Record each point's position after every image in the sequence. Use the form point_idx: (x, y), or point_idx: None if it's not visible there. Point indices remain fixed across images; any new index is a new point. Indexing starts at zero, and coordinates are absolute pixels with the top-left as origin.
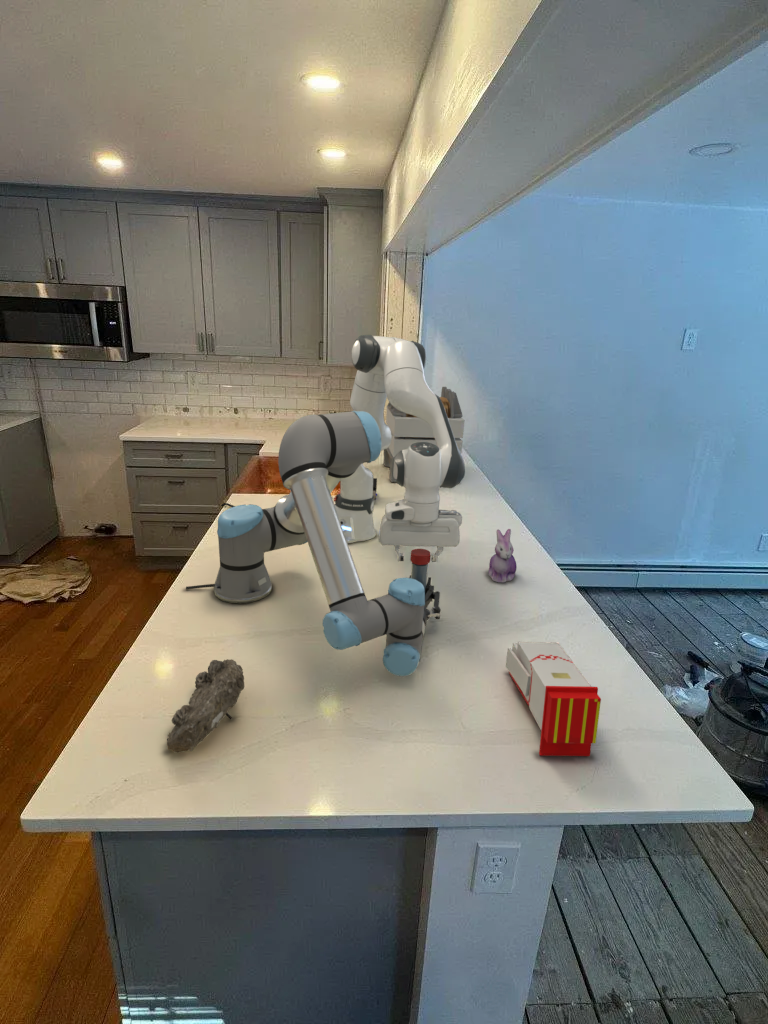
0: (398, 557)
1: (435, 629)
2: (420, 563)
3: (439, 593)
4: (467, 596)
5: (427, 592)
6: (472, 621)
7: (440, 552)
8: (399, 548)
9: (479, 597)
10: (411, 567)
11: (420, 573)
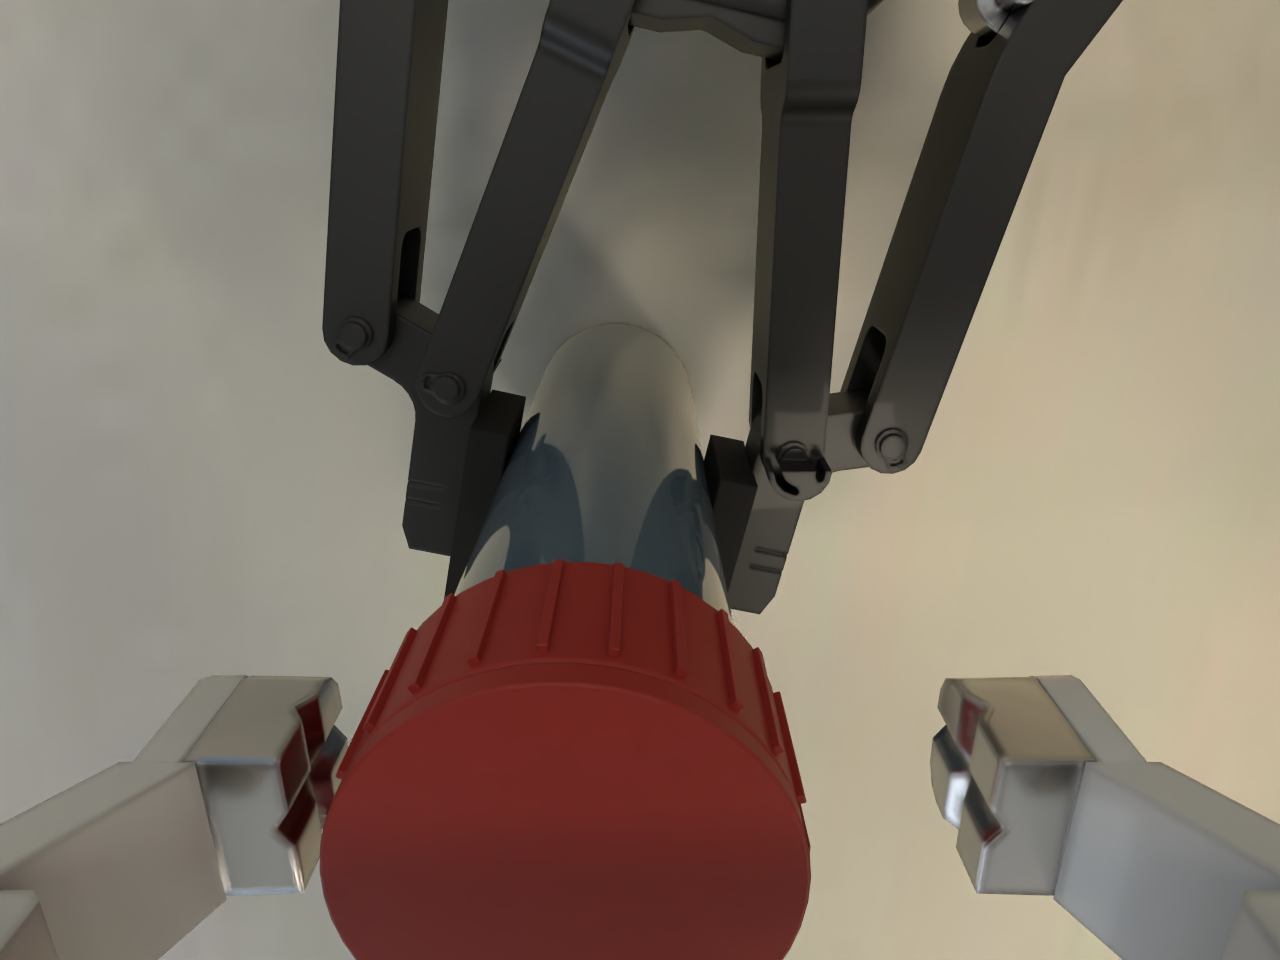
0: (1109, 725)
1: (451, 60)
2: (591, 575)
3: (329, 304)
4: (143, 668)
5: (495, 330)
6: (78, 234)
7: (6, 835)
8: (1261, 915)
9: (36, 656)
10: None
11: (587, 498)
